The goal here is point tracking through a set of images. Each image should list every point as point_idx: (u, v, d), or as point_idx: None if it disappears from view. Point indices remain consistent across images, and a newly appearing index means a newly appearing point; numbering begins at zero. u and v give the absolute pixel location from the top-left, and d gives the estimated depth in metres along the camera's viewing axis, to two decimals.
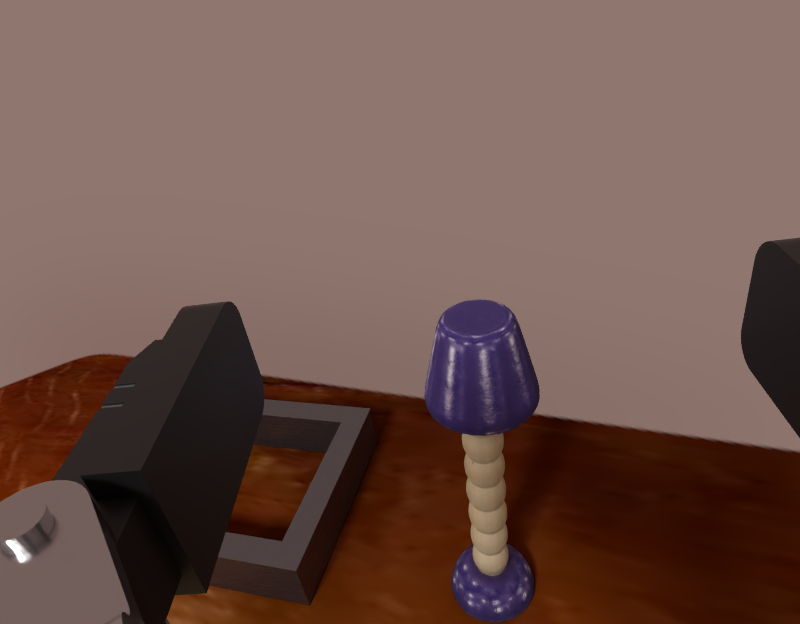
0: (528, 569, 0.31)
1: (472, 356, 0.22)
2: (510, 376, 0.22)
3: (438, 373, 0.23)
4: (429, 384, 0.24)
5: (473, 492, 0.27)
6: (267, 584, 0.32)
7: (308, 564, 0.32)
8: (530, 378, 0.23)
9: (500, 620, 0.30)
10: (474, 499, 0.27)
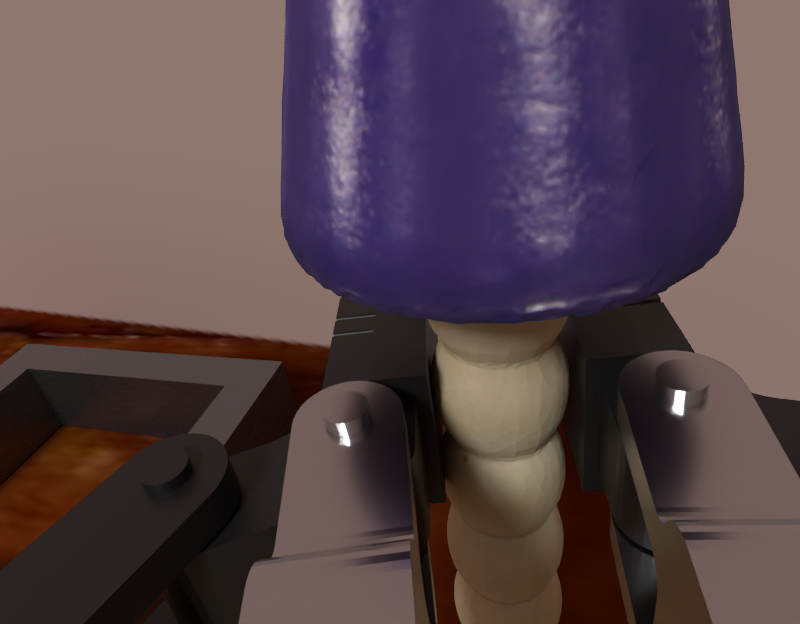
0: None
1: None
2: None
3: (300, 25, 0.05)
4: (282, 122, 0.06)
5: (467, 548, 0.09)
6: None
7: None
8: (732, 59, 0.05)
9: None
10: (470, 569, 0.09)
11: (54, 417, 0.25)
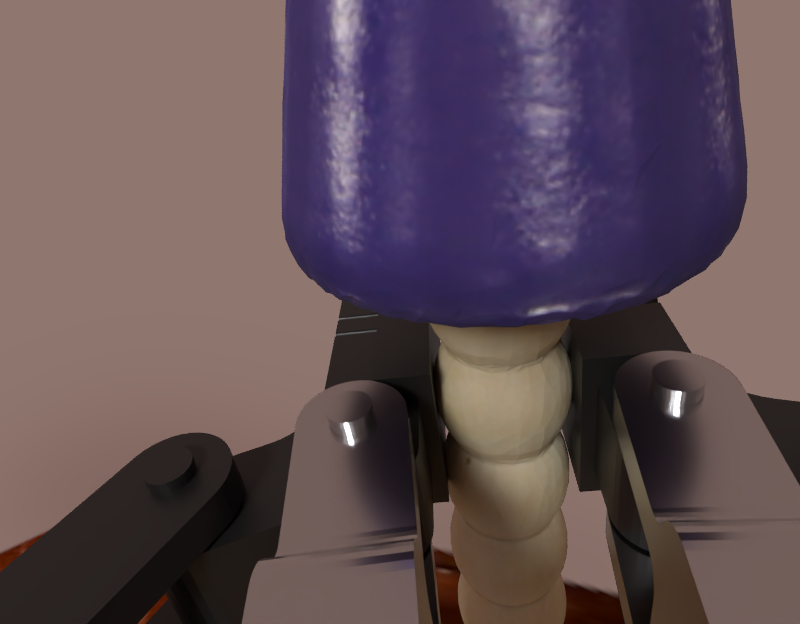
0: None
1: None
2: None
3: (300, 30, 0.05)
4: None
5: (470, 551, 0.09)
6: None
7: None
8: (734, 60, 0.05)
9: None
10: (473, 572, 0.09)
11: None
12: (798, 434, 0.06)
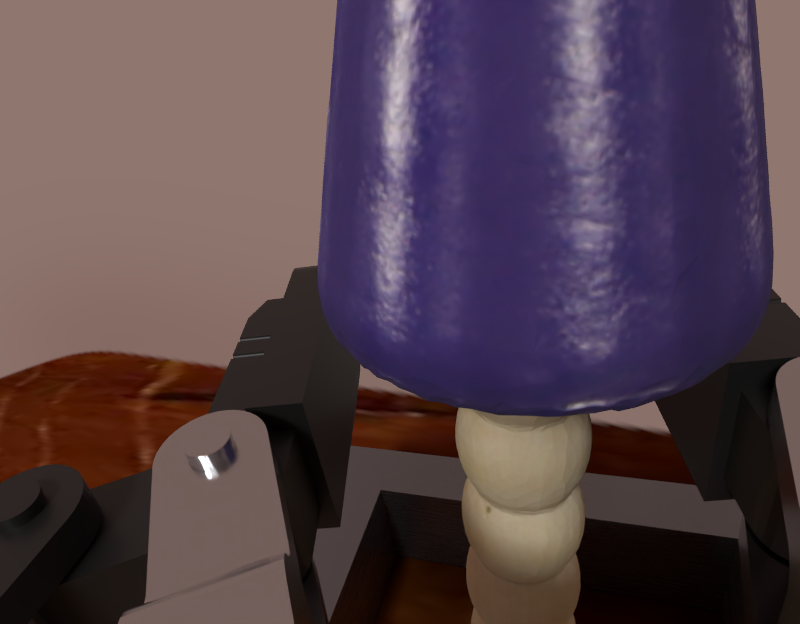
0: None
1: None
2: (711, 103, 0.04)
3: (348, 127, 0.05)
4: (323, 205, 0.06)
5: (487, 592, 0.09)
6: None
7: None
8: (766, 162, 0.05)
9: None
10: (489, 612, 0.09)
11: (393, 548, 0.18)
12: None
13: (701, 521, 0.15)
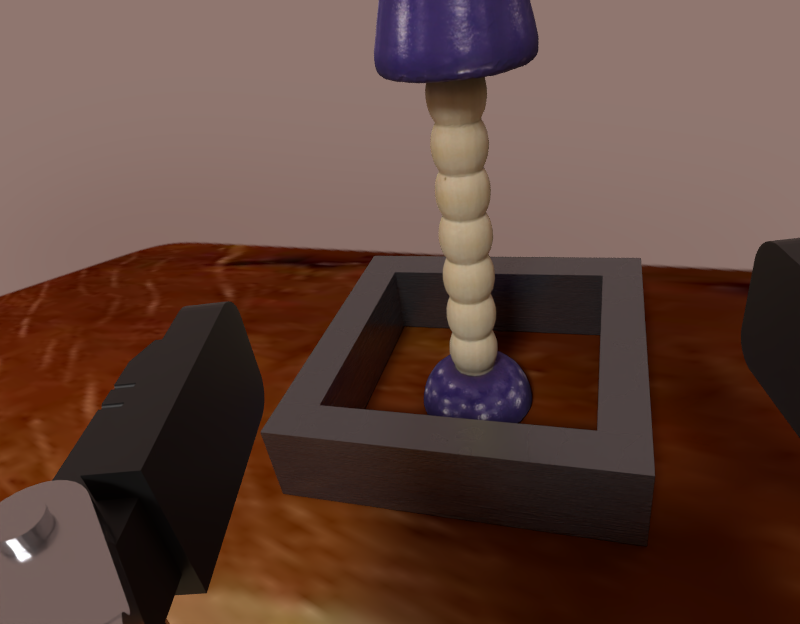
0: (524, 375, 0.24)
1: None
2: None
3: None
4: (378, 23, 0.17)
5: (447, 232, 0.20)
6: (571, 508, 0.18)
7: None
8: None
9: None
10: (448, 243, 0.20)
11: (402, 318, 0.29)
12: None
13: (583, 270, 0.26)
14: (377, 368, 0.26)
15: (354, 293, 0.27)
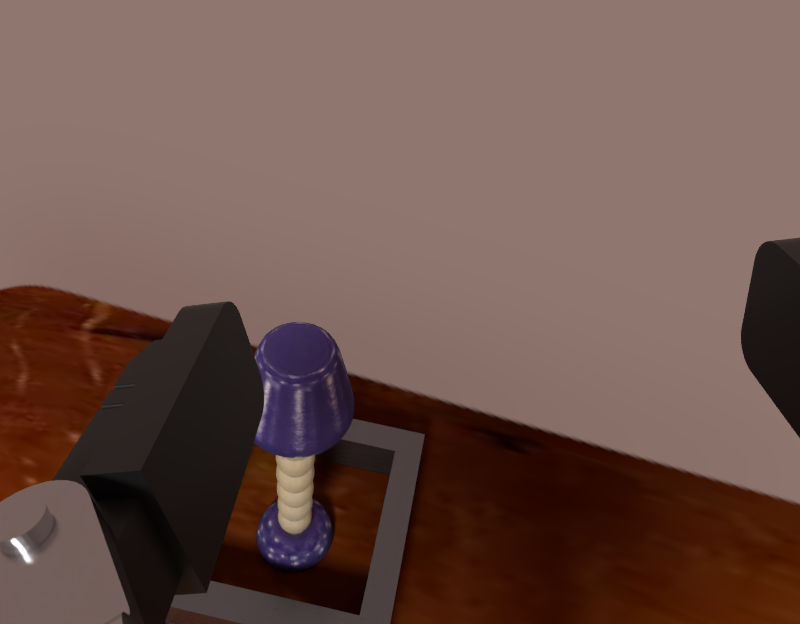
0: (329, 525, 0.34)
1: (287, 394, 0.22)
2: (324, 411, 0.23)
3: None
4: None
5: (282, 478, 0.28)
6: None
7: None
8: (344, 408, 0.24)
9: (296, 571, 0.33)
10: (282, 484, 0.29)
11: None
12: None
13: (383, 442, 0.35)
14: None
15: None
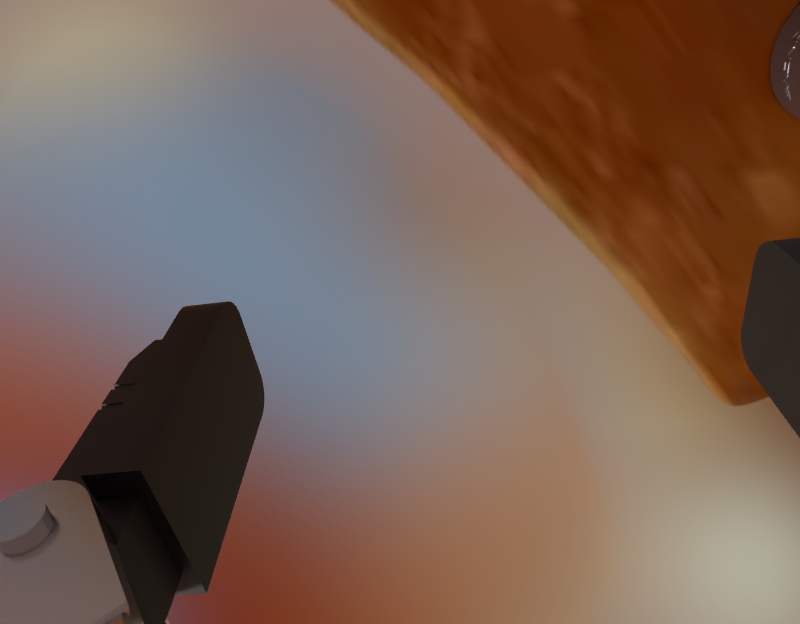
0: None
1: None
2: None
3: None
4: None
5: None
6: None
7: None
8: None
9: None
10: None
11: None
12: None
13: None
14: None
15: None
